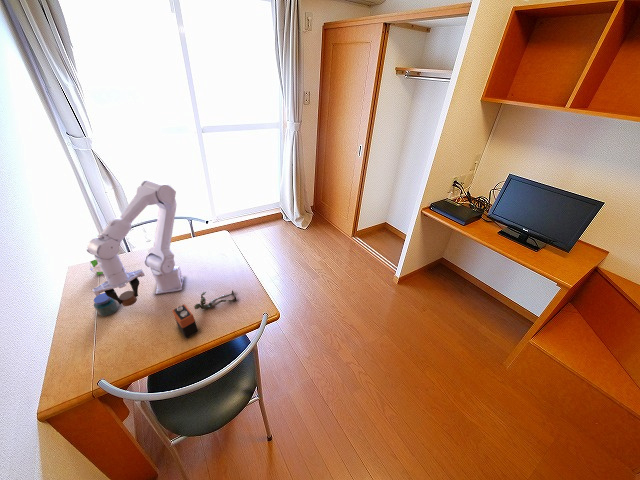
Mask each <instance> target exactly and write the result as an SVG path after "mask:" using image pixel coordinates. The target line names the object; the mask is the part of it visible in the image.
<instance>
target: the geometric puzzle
mask: <svg viewBox="0 0 640 480" xmlns="http://www.w3.org/2000/svg"><path fill="white" fill-rule="evenodd" d="M89 265H92V266H90V269H89V270H90V272H93V273H94V274H96V275H97V276H100V275H104V274H103V272H102V270H101V268H100V266H99V265H98V262H97V260H96V259H93V260H90V261H89Z"/></svg>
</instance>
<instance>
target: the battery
mask: <svg viewBox="0 0 640 480" xmlns="http://www.w3.org/2000/svg"><path fill="white" fill-rule="evenodd" d="M172 314H173V316H174V320H175V323H176V325H177V327H178V329H179V330H180V332H181V333H182V335H183V336H184V338H185V339H188V338H189V337H192V336H193V335H195V334H196V333H198V332H199V329H198V326H197V322H196V320H195V317H194V314H193V312H192V311H191V310H190V309H189V307H188V306H187V305H186V304H185V303H184V304H182V305H178V306H177V307H176V308H174V309H172Z"/></svg>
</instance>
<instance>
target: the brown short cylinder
mask: <svg viewBox="0 0 640 480" xmlns="http://www.w3.org/2000/svg"><path fill="white" fill-rule="evenodd" d="M118 297H119V299H120V300H121V302H122V304H121V305H122V306H124V307H130V306H133V305H134V304H136V302H137V301H138V298H137V297H138V296H137V297H136V296H135V293H134V292H133V290H127V291H124V292H122V293H121V294H120V295H119V296H118Z"/></svg>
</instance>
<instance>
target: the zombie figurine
mask: <svg viewBox="0 0 640 480" xmlns="http://www.w3.org/2000/svg"><path fill="white" fill-rule="evenodd" d="M206 294H207V291H203V292H202V293H200V298H201V299H200V303H196V304H194V306H193V307H194V309H195V310H199V309H201V310H208V309H211V308H215V306H217V305H219V304H220V303H223V302H224V303H226V302H237V296H236V295H235V293H234V290H231V293H230V294H223V295H220V296H218V297H215V298H213V299H211V300H210V301H209V303H208V304H206V303H207V299H206V297H204V295H206ZM230 296H234V297H233V299H225V298H227V297H230Z"/></svg>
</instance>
